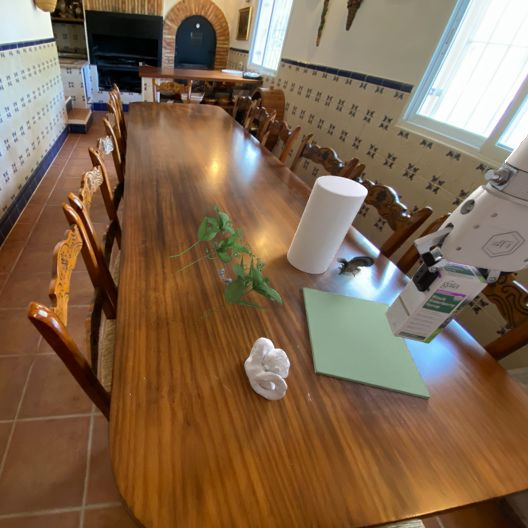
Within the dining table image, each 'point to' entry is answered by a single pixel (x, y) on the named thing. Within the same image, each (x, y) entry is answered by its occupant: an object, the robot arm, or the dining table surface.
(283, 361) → the baby figurine
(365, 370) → the felt mat
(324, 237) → the cylinder
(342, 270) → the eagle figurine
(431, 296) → the syrup box
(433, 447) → the dining table surface
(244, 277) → the plant cuttings
